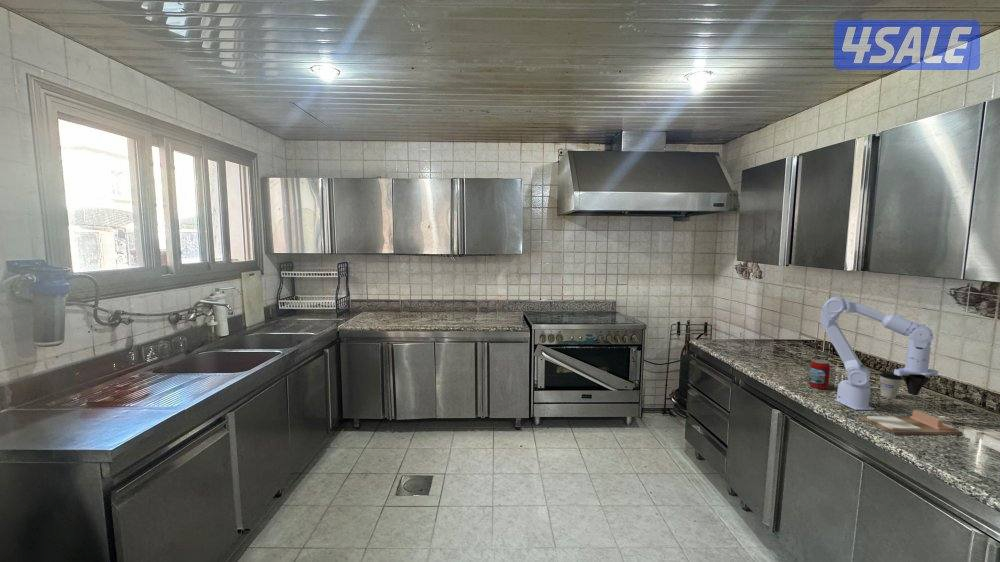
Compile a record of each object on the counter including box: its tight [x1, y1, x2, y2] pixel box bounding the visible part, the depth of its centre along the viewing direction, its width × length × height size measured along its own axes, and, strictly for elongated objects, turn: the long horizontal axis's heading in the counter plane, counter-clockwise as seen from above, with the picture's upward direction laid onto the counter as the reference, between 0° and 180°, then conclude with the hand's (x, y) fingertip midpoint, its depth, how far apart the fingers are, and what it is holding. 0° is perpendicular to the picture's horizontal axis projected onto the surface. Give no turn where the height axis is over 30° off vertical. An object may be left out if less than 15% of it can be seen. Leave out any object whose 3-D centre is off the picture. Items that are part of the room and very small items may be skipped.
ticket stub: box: [909, 409, 956, 430], centre depth 138 cm, size 9×6×3 cm, turn 2°
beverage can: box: [808, 359, 831, 390], centre depth 175 cm, size 7×7×12 cm
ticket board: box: [859, 415, 963, 436], centre depth 138 cm, size 12×24×2 cm, turn 92°
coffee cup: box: [879, 371, 903, 399], centre depth 165 cm, size 7×7×10 cm
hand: (912, 394), depth 144 cm, fingers closed
